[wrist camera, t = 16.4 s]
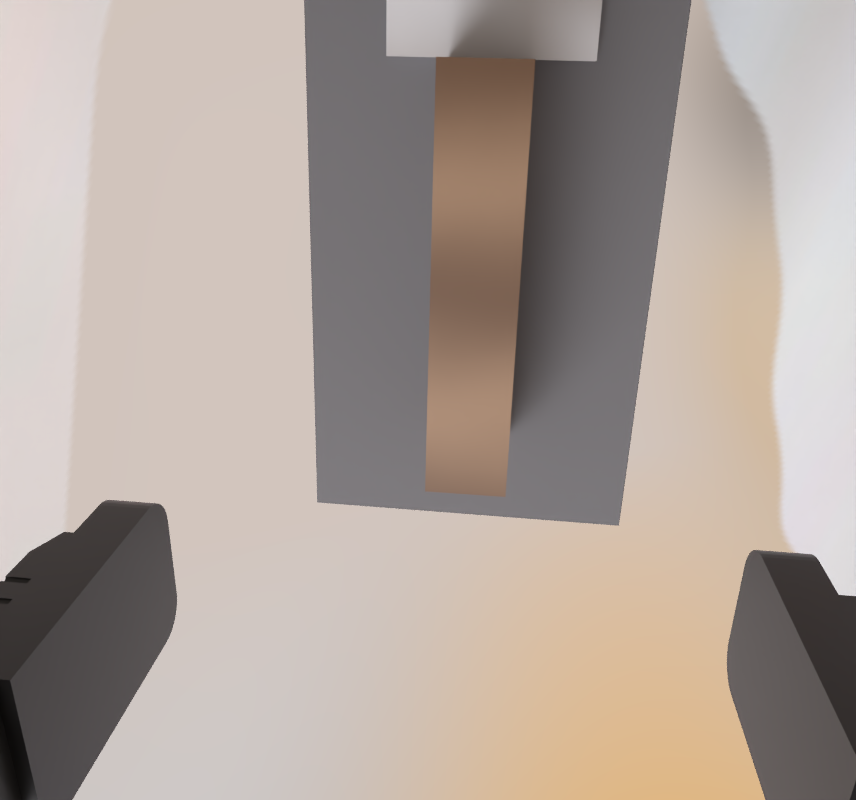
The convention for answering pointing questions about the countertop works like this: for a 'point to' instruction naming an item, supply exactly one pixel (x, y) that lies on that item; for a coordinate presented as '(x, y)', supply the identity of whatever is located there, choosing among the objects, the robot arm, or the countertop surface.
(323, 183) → the mat
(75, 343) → the countertop surface
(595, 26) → the turner
